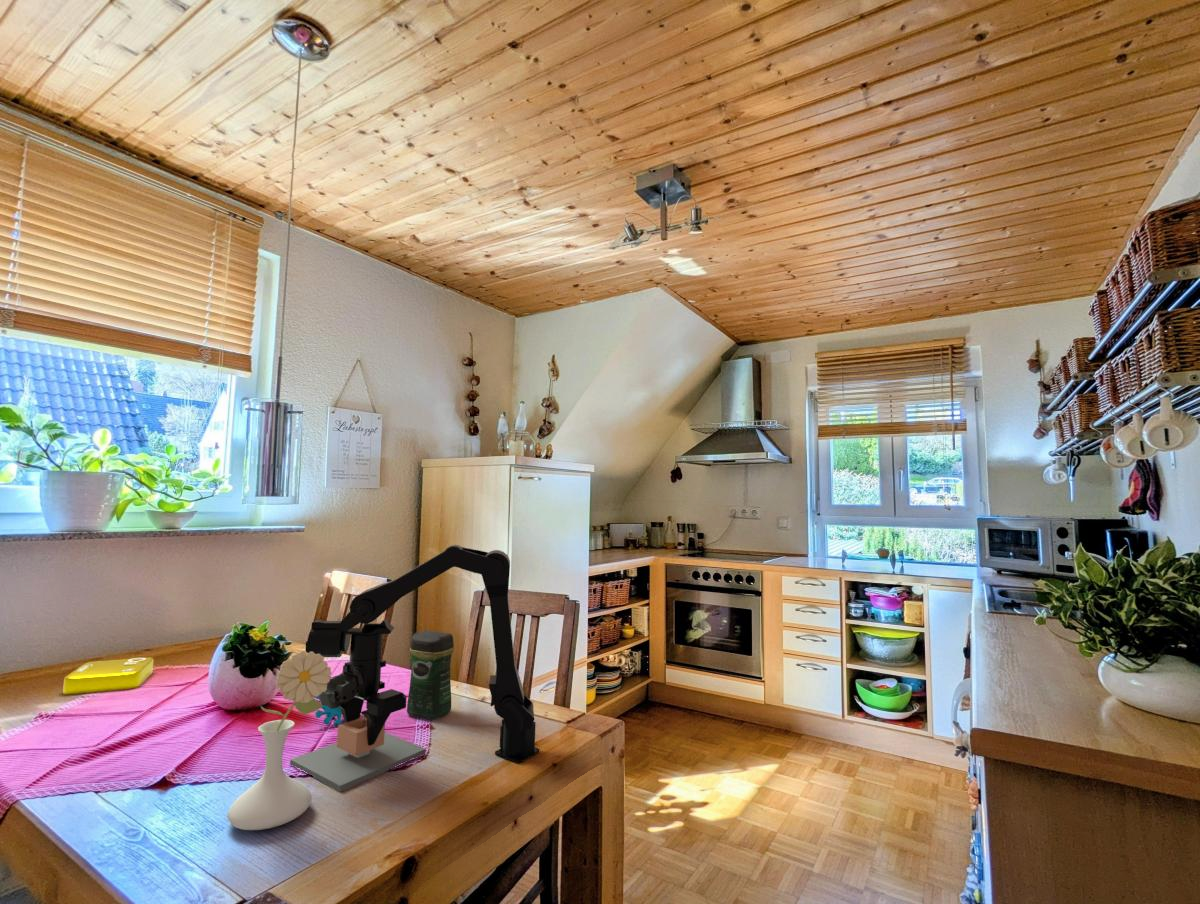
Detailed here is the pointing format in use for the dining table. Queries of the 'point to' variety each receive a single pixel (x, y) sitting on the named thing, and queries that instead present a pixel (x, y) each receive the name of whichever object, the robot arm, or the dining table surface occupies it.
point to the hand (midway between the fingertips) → (360, 740)
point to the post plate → (356, 762)
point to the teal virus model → (329, 714)
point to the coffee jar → (430, 675)
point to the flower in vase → (275, 790)
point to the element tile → (108, 675)
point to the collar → (357, 737)
